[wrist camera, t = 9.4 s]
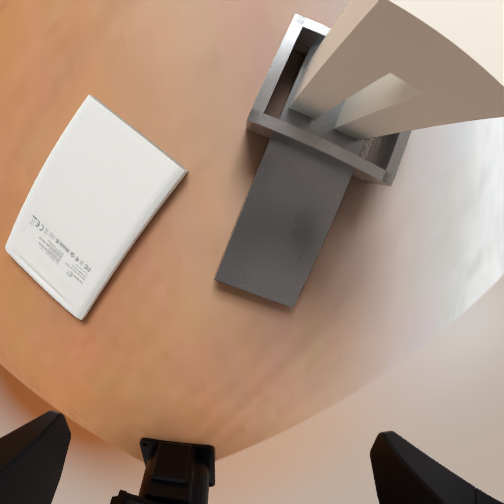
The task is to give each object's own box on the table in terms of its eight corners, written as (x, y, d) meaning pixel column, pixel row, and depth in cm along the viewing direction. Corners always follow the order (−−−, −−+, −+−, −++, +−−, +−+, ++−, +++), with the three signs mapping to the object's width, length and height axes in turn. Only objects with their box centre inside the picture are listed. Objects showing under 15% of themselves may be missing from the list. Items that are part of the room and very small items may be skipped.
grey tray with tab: (310, 307, 20) (323, 332, 17) (193, 264, 19) (184, 283, 16) (402, 85, 17) (428, 73, 14) (290, 29, 16) (299, 4, 13)
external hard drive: (190, 171, 19) (89, 313, 21) (98, 98, 17) (14, 243, 19) (185, 171, 17) (80, 322, 19) (87, 93, 16) (1, 248, 18)
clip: (358, 140, 17) (530, 114, 5) (288, 107, 16) (382, -4, 4) (375, 97, 16) (535, 31, 4) (307, 63, 16) (406, -72, 3)
